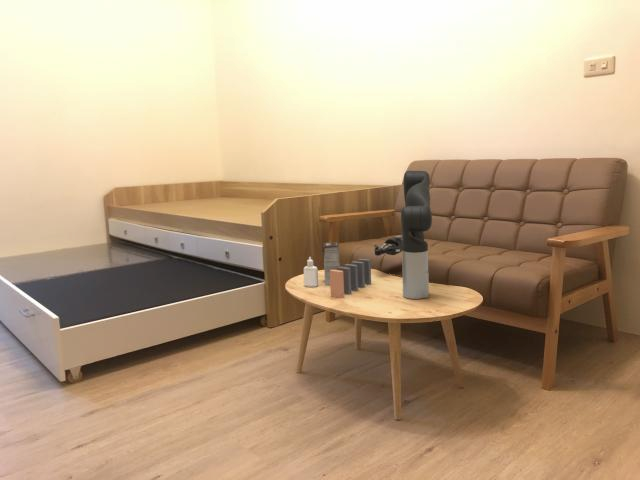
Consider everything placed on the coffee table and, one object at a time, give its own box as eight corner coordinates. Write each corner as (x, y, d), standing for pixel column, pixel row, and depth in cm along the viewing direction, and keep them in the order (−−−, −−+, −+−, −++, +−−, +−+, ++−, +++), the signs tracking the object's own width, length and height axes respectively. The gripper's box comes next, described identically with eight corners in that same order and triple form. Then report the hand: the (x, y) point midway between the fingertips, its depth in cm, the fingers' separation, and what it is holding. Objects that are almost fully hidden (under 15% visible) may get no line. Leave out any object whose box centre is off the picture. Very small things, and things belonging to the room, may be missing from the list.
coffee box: (324, 279, 225) (323, 242, 222) (340, 278, 225) (338, 241, 222) (324, 285, 216) (323, 246, 213) (340, 284, 216) (339, 245, 213)
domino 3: (347, 288, 210) (346, 263, 208) (358, 290, 207) (357, 265, 205) (345, 289, 208) (344, 264, 206) (356, 291, 205) (355, 266, 204)
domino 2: (340, 291, 206) (339, 266, 204) (351, 293, 203) (350, 268, 201) (338, 292, 204) (337, 267, 203) (349, 294, 202) (348, 268, 200)
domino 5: (360, 282, 218) (359, 258, 216) (371, 283, 215) (370, 259, 213) (358, 283, 216) (357, 259, 214) (369, 284, 213) (368, 260, 212)
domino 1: (333, 295, 202) (332, 269, 200) (344, 296, 199) (343, 270, 197) (330, 296, 200) (329, 270, 199) (341, 298, 198) (340, 271, 196)
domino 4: (354, 285, 214) (353, 261, 212) (364, 286, 211) (364, 262, 209) (352, 286, 212) (351, 262, 210) (362, 287, 209) (362, 263, 208)
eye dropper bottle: (312, 288, 212) (310, 259, 210) (302, 285, 216) (301, 257, 214) (320, 285, 215) (318, 257, 213) (310, 283, 219) (309, 255, 217)
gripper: (382, 235, 239) (362, 243, 225) (409, 237, 231) (390, 245, 217) (383, 251, 240) (363, 260, 226) (409, 254, 232) (390, 263, 219)
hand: (376, 253), depth 222 cm, fingers closed
